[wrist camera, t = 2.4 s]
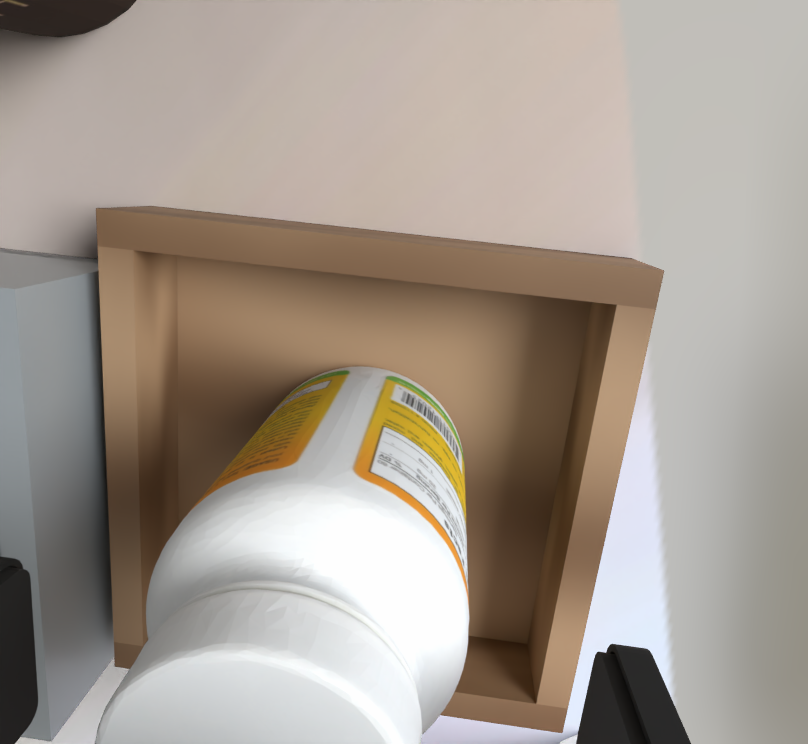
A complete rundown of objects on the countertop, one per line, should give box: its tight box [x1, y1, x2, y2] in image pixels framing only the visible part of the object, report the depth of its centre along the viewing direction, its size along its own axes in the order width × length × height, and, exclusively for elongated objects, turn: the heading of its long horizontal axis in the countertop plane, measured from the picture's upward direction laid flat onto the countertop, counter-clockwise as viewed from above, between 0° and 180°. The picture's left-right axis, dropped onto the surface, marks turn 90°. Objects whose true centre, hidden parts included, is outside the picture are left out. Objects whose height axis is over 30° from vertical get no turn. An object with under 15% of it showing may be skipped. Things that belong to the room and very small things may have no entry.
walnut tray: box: [96, 206, 664, 733], centre depth 16 cm, size 12×12×2 cm
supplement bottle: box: [95, 366, 469, 744], centre depth 12 cm, size 5×5×10 cm
